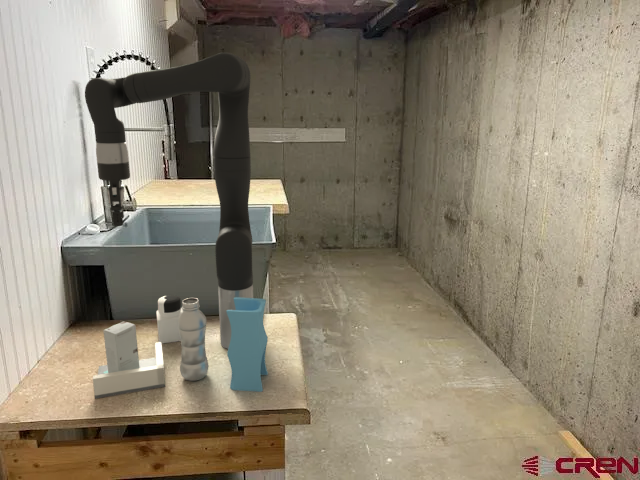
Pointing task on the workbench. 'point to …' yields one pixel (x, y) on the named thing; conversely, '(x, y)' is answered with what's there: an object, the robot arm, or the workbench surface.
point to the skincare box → (121, 347)
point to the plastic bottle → (192, 341)
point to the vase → (247, 344)
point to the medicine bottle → (168, 318)
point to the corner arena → (131, 377)
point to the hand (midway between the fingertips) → (119, 221)
